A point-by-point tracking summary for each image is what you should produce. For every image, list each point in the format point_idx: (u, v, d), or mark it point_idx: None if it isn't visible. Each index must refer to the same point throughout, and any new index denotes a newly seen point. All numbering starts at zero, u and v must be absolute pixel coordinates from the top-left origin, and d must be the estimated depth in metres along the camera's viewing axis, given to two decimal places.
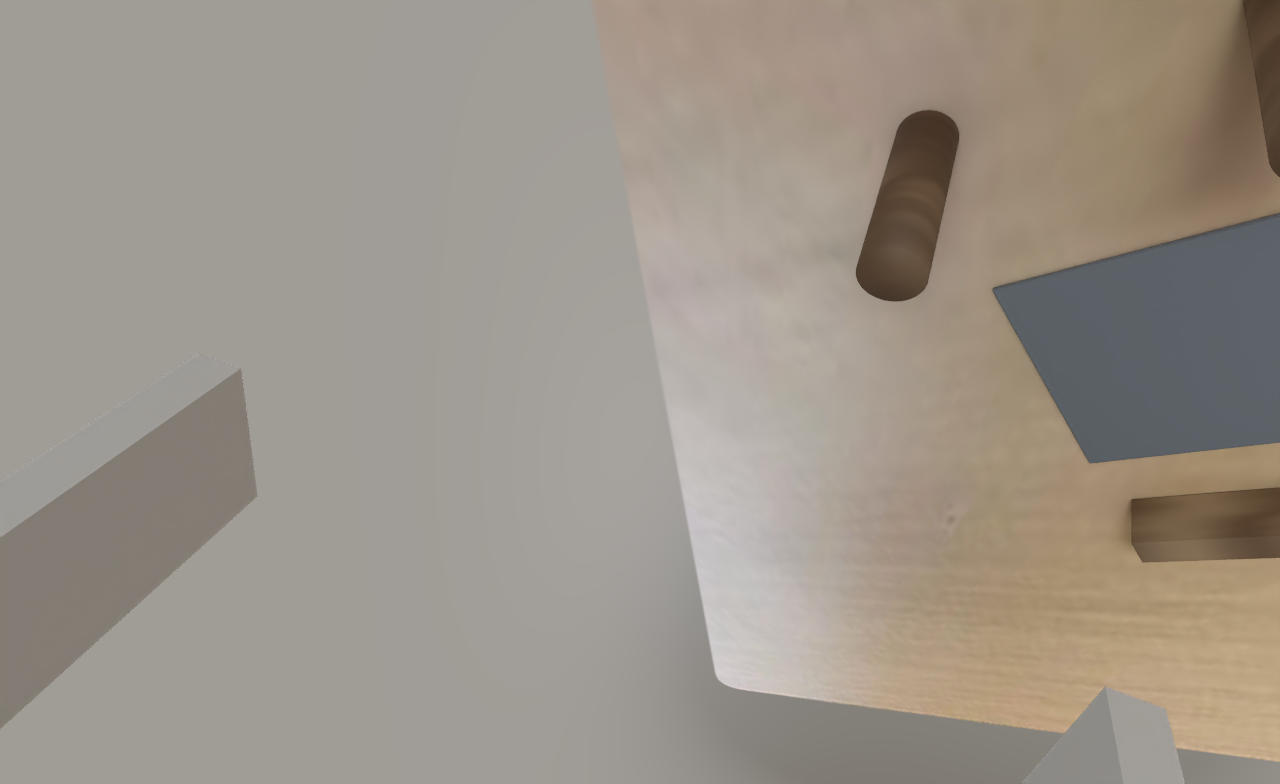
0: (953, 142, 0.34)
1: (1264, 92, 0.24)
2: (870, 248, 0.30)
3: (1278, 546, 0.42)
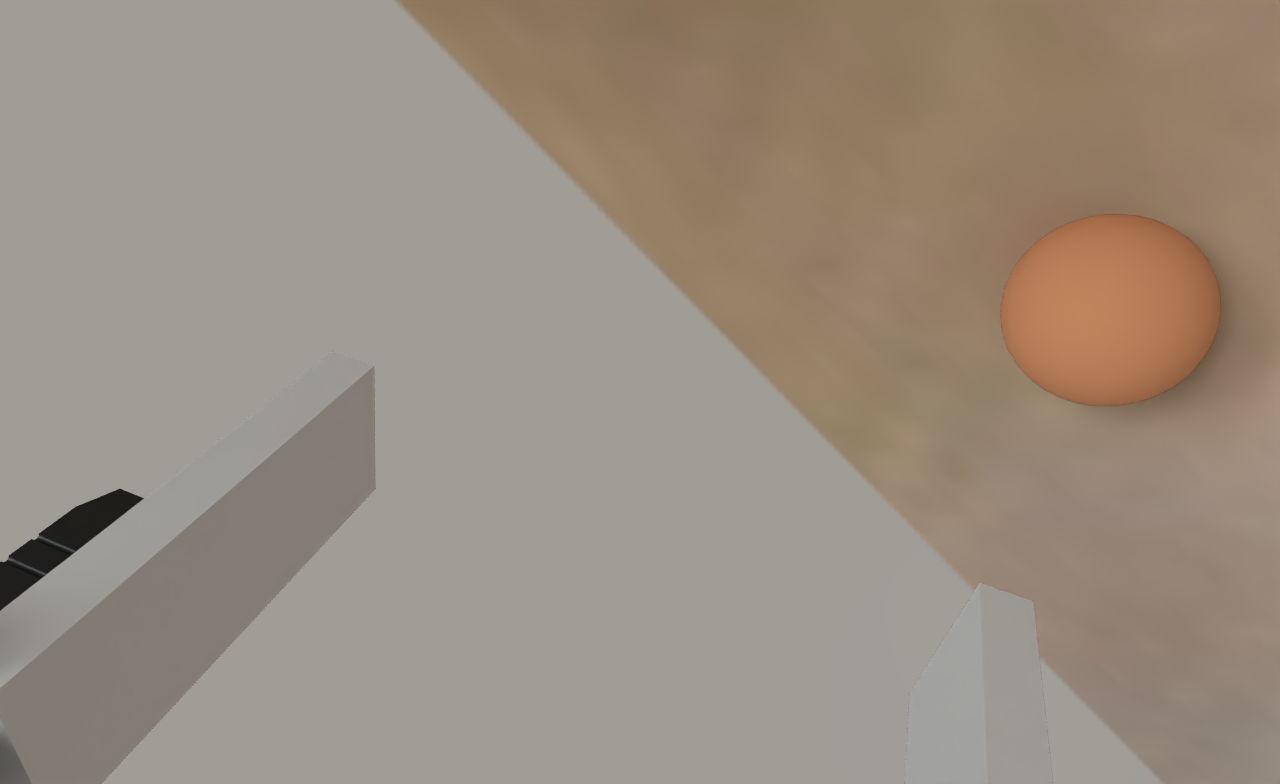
0: None
1: None
2: None
3: None
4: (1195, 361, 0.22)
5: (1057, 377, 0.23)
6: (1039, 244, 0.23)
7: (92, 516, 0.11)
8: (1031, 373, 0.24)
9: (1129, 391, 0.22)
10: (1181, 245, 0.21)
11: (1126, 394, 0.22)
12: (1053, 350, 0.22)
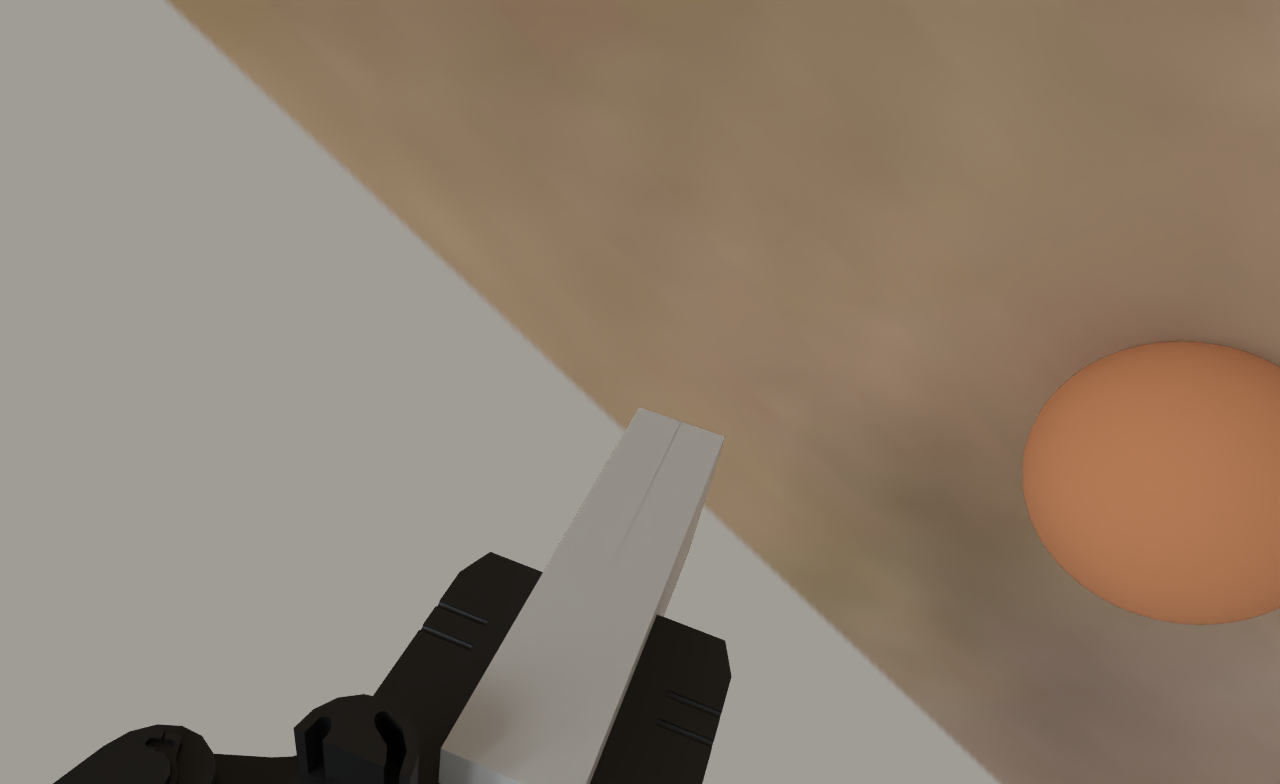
0: None
1: None
2: None
3: None
4: None
5: (1108, 588, 0.15)
6: (1080, 385, 0.16)
7: (478, 582, 0.11)
8: (1067, 570, 0.16)
9: (1220, 619, 0.15)
10: None
11: (1214, 620, 0.15)
12: (1104, 555, 0.15)
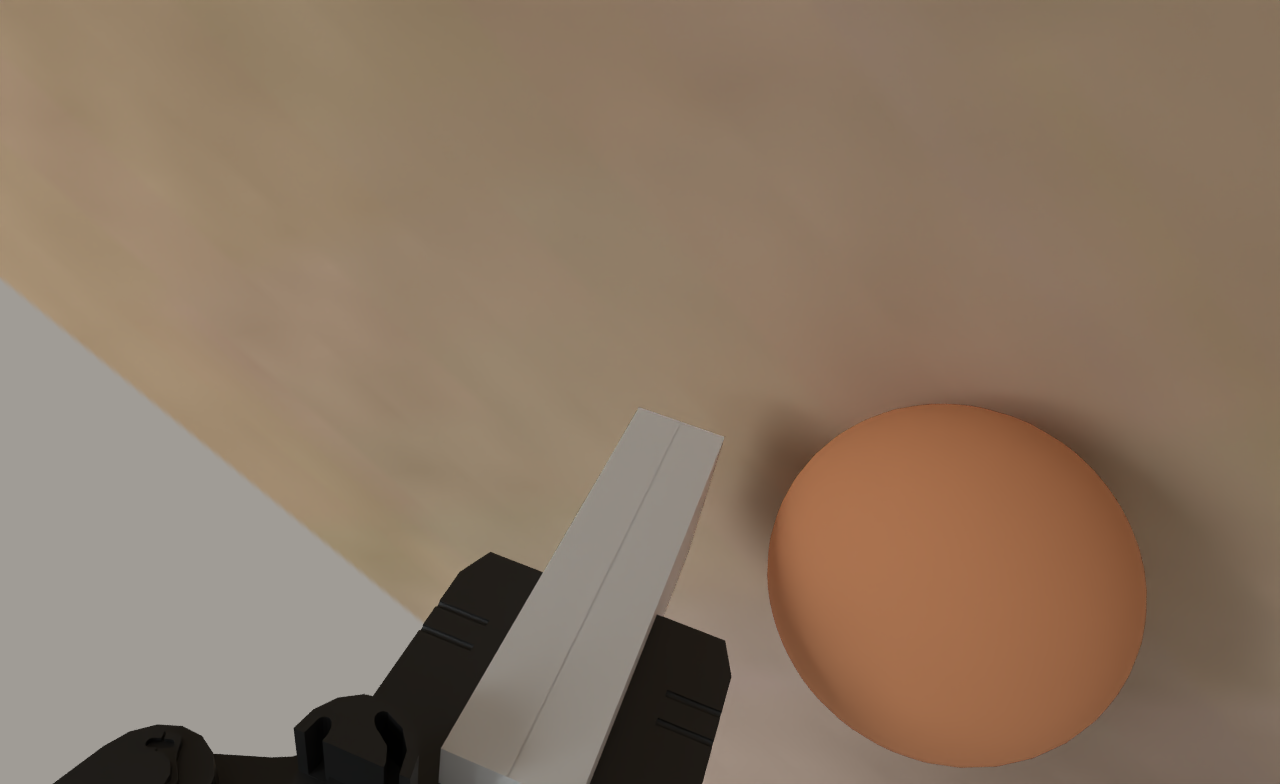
0: None
1: None
2: None
3: None
4: None
5: None
6: (1105, 666, 0.11)
7: (478, 582, 0.11)
8: None
9: None
10: (1025, 425, 0.12)
11: None
12: None
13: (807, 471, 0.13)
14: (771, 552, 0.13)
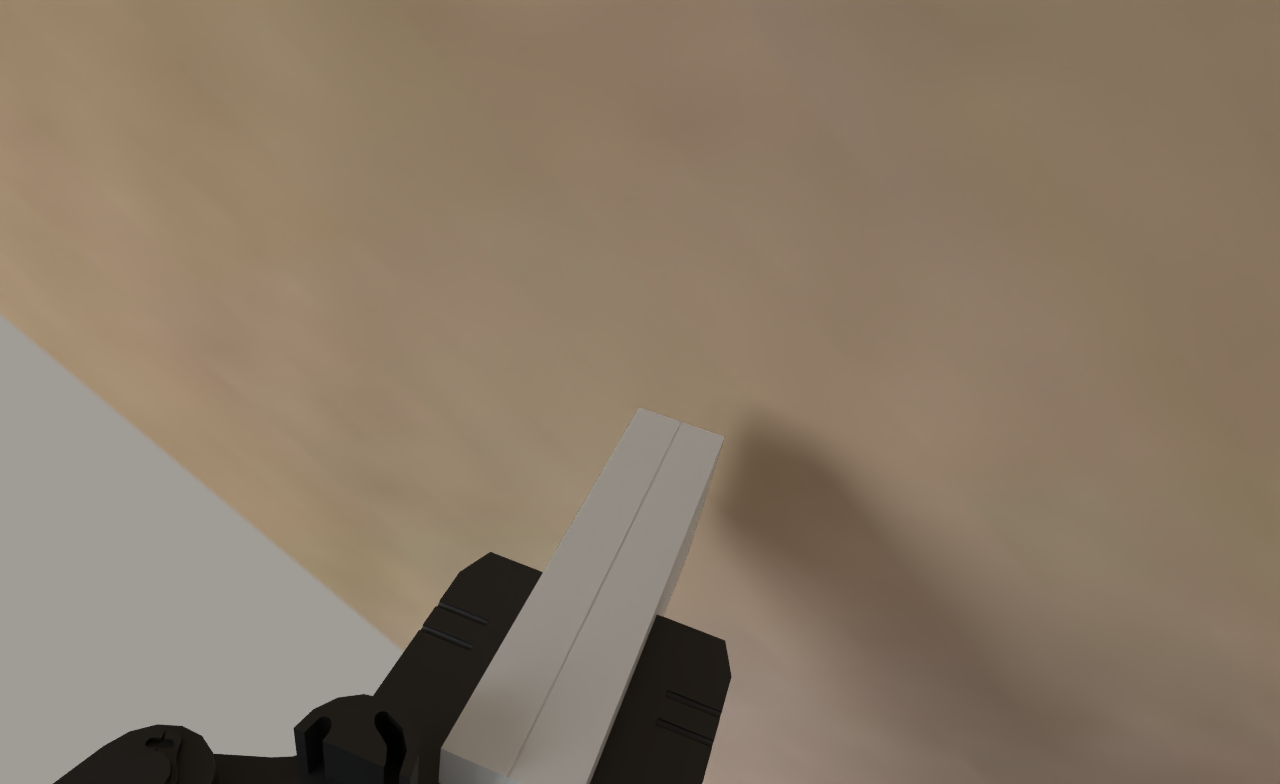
0: None
1: None
2: None
3: None
4: None
5: None
6: None
7: (479, 582, 0.11)
8: None
9: None
10: None
11: None
12: None
13: None
14: None
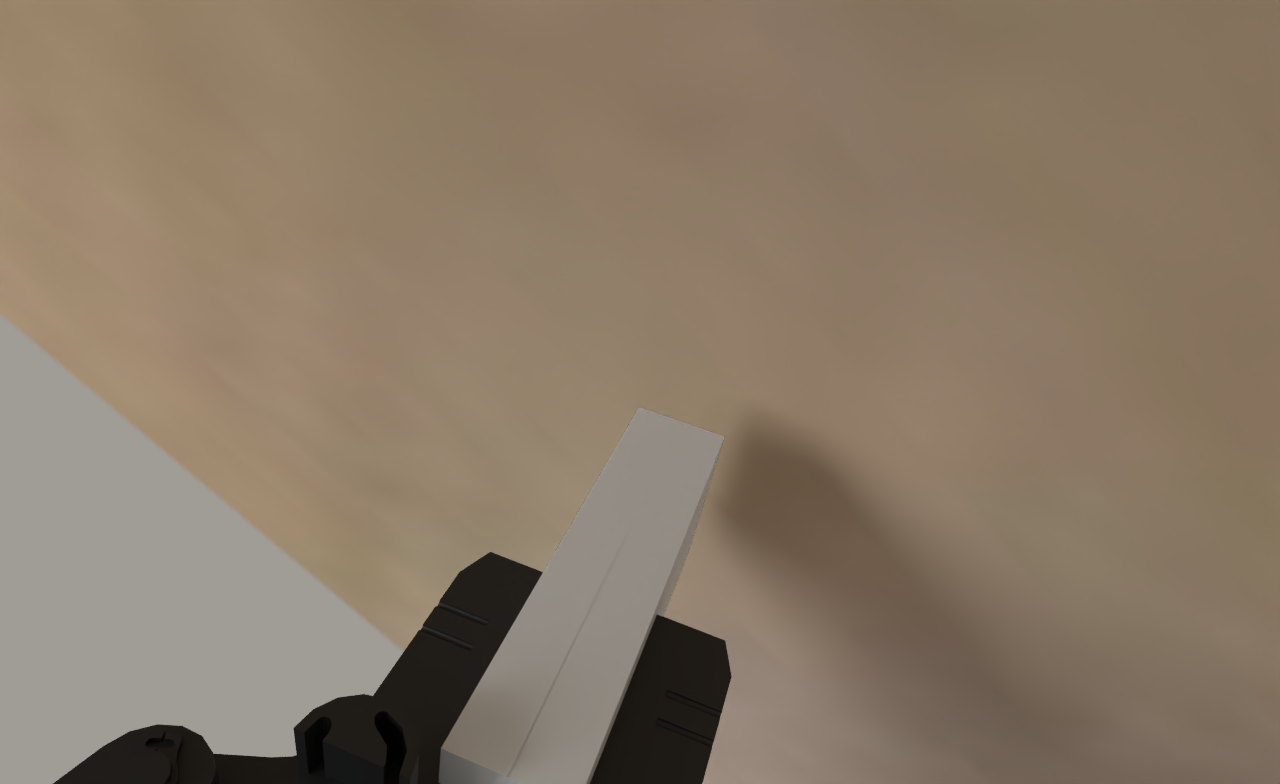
0: None
1: None
2: None
3: None
4: None
5: None
6: None
7: (479, 582, 0.11)
8: None
9: None
10: None
11: None
12: None
13: None
14: None
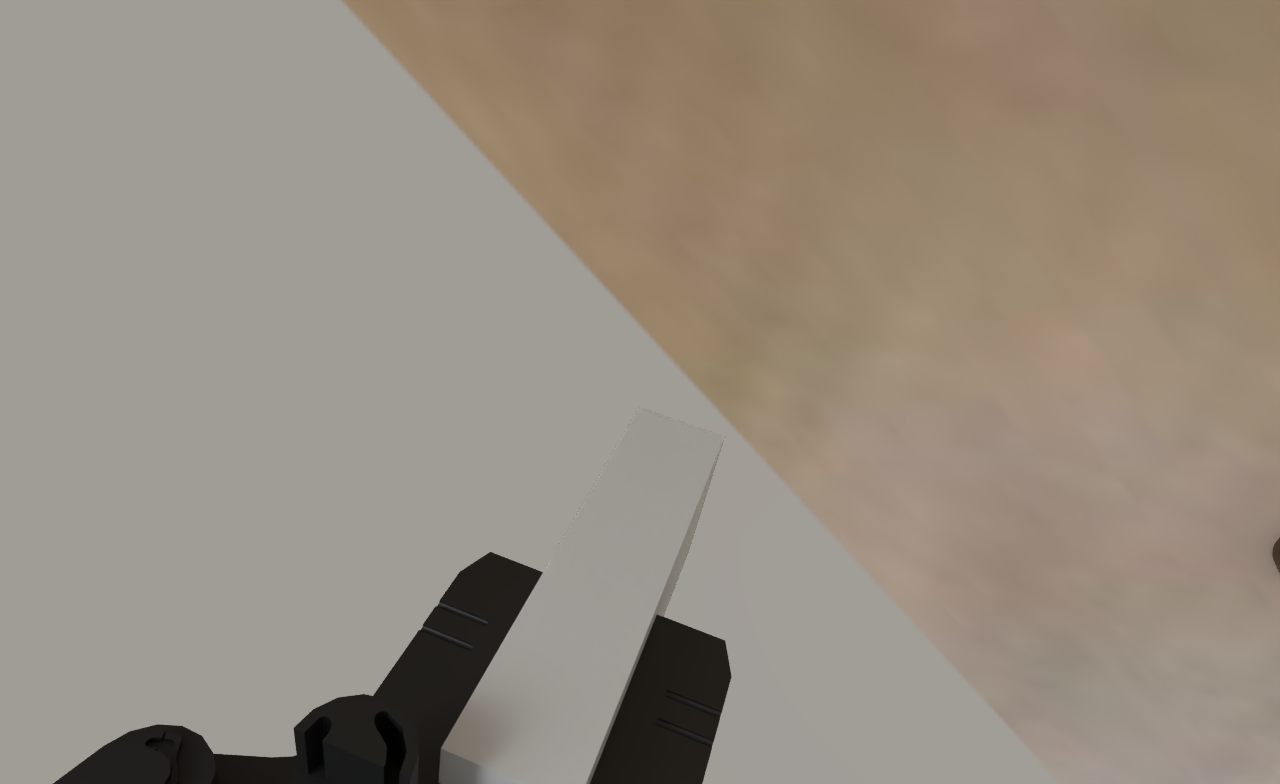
0: None
1: None
2: None
3: None
4: None
5: None
6: None
7: (479, 582, 0.11)
8: None
9: None
10: None
11: None
12: None
13: None
14: None
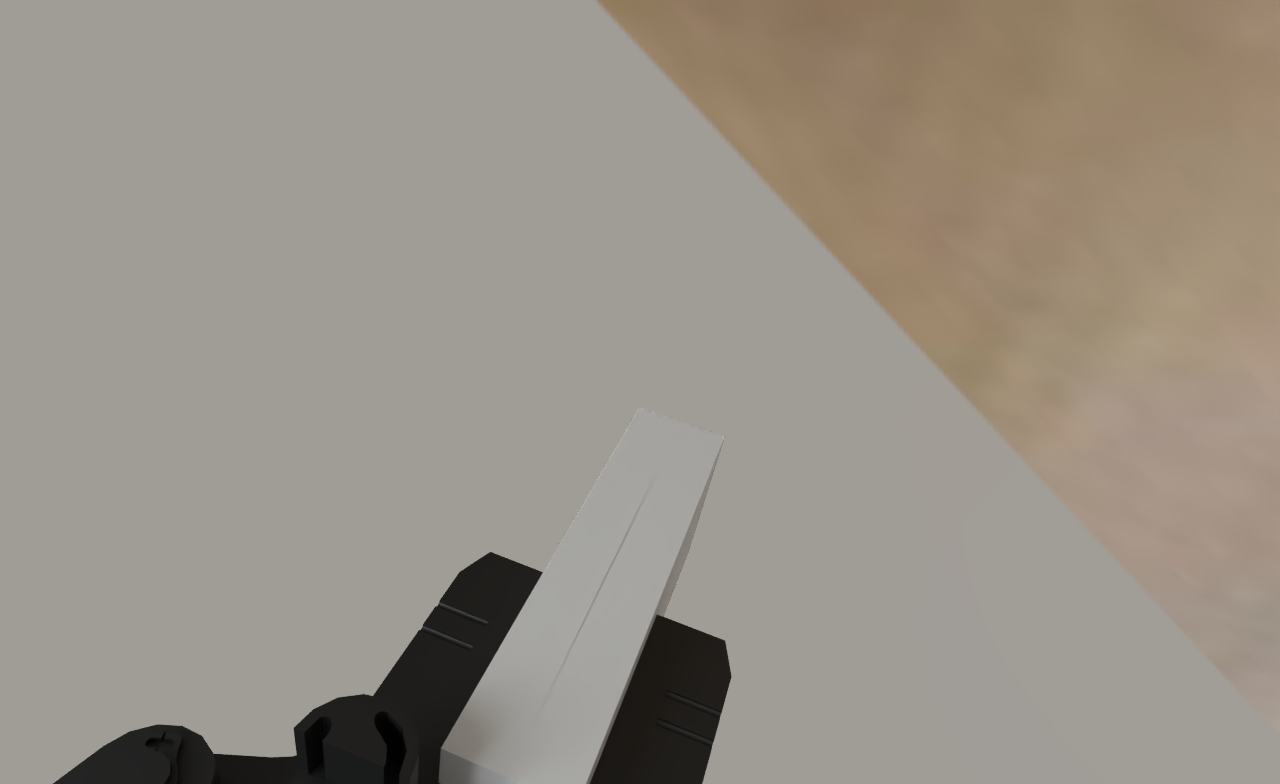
0: None
1: None
2: None
3: None
4: None
5: None
6: None
7: (478, 582, 0.11)
8: None
9: None
10: None
11: None
12: None
13: None
14: None
